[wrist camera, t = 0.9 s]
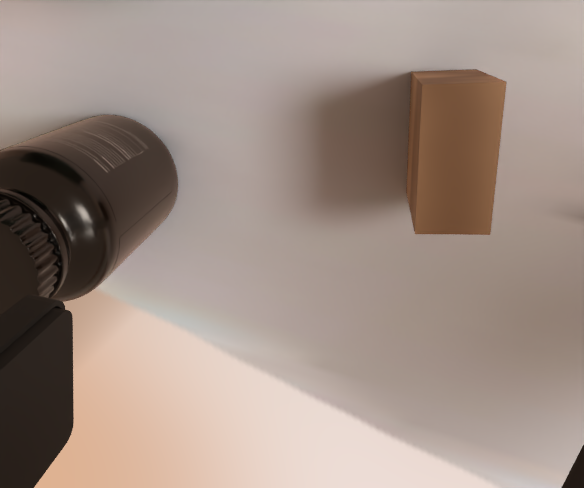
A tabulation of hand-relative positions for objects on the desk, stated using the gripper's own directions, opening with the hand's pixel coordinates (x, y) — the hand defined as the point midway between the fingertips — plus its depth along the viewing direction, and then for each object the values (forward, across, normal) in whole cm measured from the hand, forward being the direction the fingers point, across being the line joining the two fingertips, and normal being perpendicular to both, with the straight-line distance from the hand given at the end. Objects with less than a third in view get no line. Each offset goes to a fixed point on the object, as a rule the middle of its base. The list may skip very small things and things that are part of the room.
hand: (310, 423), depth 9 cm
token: (+20, -4, -2) cm, 20 cm away
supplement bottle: (+20, +12, +3) cm, 23 cm away
